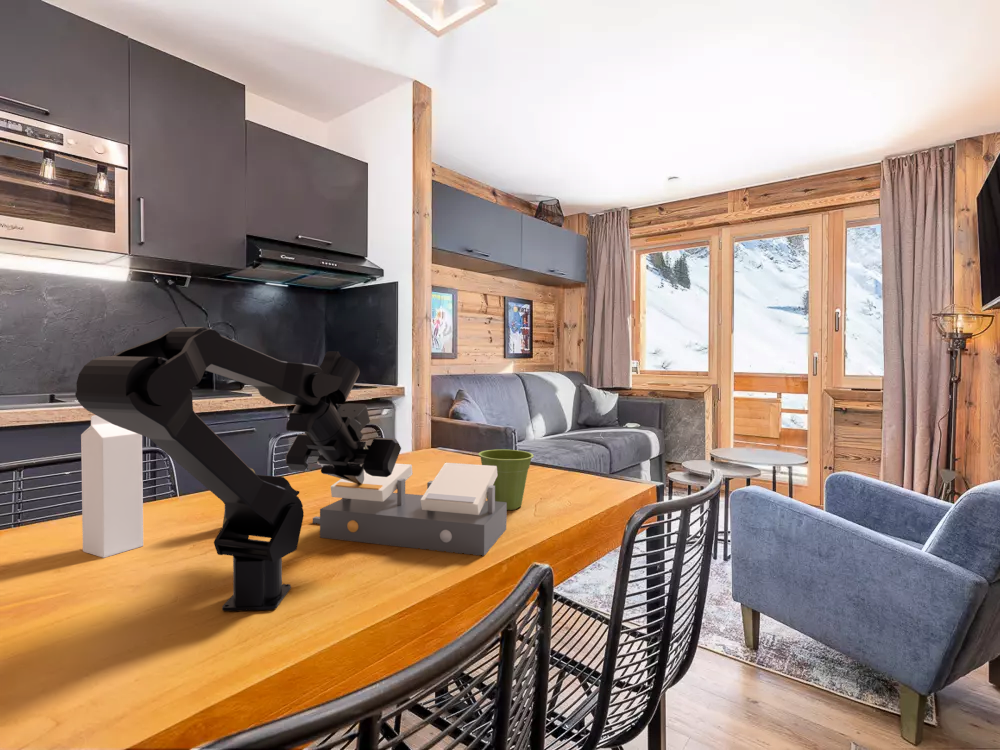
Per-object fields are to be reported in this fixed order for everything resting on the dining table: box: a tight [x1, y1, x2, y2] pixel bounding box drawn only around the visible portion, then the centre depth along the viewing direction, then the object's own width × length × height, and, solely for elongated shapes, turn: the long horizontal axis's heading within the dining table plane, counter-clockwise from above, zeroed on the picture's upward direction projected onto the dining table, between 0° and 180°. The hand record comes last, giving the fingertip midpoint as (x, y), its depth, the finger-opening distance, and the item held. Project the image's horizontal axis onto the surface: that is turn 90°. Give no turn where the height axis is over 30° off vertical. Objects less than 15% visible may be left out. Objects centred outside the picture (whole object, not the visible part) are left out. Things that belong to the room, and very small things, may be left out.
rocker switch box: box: [312, 478, 508, 557], centre depth 96 cm, size 14×36×10 cm, turn 75°
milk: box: [80, 414, 144, 559], centre depth 86 cm, size 6×6×22 cm
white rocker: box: [421, 462, 498, 515], centre depth 93 cm, size 12×10×2 cm
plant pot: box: [478, 449, 534, 511], centre depth 113 cm, size 12×12×11 cm
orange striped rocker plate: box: [330, 462, 413, 502], centre depth 97 cm, size 12×10×2 cm
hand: (361, 481), depth 93 cm, fingers closed, pressing on orange striped rocker plate
